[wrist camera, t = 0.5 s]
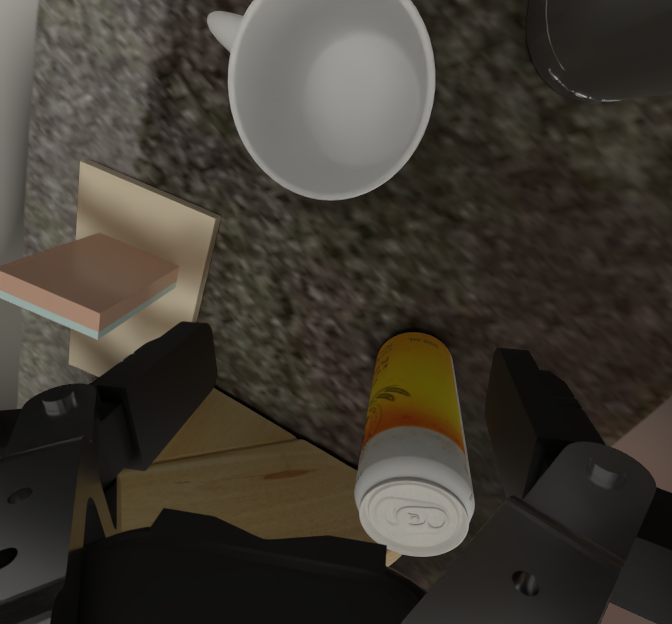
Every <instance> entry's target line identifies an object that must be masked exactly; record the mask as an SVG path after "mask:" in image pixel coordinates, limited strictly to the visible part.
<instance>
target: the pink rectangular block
mask: <svg viewBox="0 0 672 624" xmlns="http://www.w3.org/2000/svg"><path fill="white" fill-rule="evenodd" d="M178 272H179V266H177V265H175V264H172V263H170V262H168V261H165V260H163V259H161V258H158V257H156V256H154V255H151V254H149V253H147V252H144V251H142V250H140V249H137V248H135V247H133V246H130V245H128V244H126V243H123V242H121V241H119V240H116V239H114V238H112V237H109V236H107V235H105V234H102V233H100V232H99V233H96V234H93V235H90V236H87V237H85V238H82V239H79V240H76V241H73V242H70V243H67V244H64V245H61V246H58V247H55V248H52V249H49V250H46V251H43V252H40V253H37V254H34V255H31V256H28V257H25V258H22V259H19V260H16V261H13V262H10V263H7V264H4V265H1V266H0V298H1V299H3V300H6V301H8V302H10V303H13V304H15V305H18V306H20V307H22V308H24V309H27V310H29V311H32V312H34V313H36V314H39V315H41V316H43V317H46V318H48V319H50V320H53V321H55V322H57V323H60V324H62V325H64V326H67V327H69V328H71V329H74V330H76V331H78V332H81V333H83V334H85V335H88V336H90V337H92V338H95V339H97V340H98V339H100V338H101V337H103V336H104V335H106V334H107V333H109V332H110V331H112V330H113V329H115V328H116V327H118V326H119V325H121V324H122V323H124V322H125V321H126V320H128V319H129V318H131V317H132V316H134V315H135V314H137V313H138V312H140V311H141V310H143V309H144V308H146V307H147V306H149V305H150V304H152V303H153V302H155V301H156V300H158V299H159V298H161V297H162V296H164V295H165V294H167V293H168V292H170V291H171V290H173V289H174V288H175V287H176V282H177V277H178Z"/></svg>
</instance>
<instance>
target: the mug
mask: <svg viewBox="0 0 672 624" xmlns="http://www.w3.org/2000/svg"><path fill="white" fill-rule="evenodd" d="M207 23H208V26H209V29H210V31H211V32H212V33H213V35H214V36H215V37H216V38H217V40H218V41H219V42H220V43H221V44H222V45H223V46H224V47H225V48H226V49H227V50H228V51H229V52H230V60H229V66H228V91H229V100H230V106H231V112H232V115H233V118H234V122H235V125H236V128H237V130H238V133H239V135H240V138H241V140H242V142H243V143H244V145H245V147H246V149H247V151H248V152H249V154H250V155H251V156H252V158H253V159H254V161H255V162H256V163H257V164H258V165H259V167H260V168H261V169H262V170H263V171H264V172H265V173H266V174H267V175H268V176H270V177H271V178H272V179H273V180H274V181H276V182H277V183H279V184H280V185H281V186H283V187H285V188H287V189H288V190H290V191H292V192H294V193H297V194H300V195H302V196H305V197H309V198H314V199H319V200H343V199H348V198H353V197H357V196H359V195H362V194H365V193H368V192H370V191H372V190H374V189H376V188H377V187H379V186H381V185H382V184H383V183H385V182H386V181H388V180H389V179H390V178H391V177H393V176H394V175H395V174H396V173H397V172H398V171H399V170H400V169H401V168H402V167H403V166H404V165H405V163H406V162H407V161H408V160H409V159H410V157H411V156H412V154H413V153H414V151H415V150H416V148H417V146H418V144H419V143H420V141H421V139H422V137H423V135H424V132H425V130H426V127H427V124H428V122H429V118H430V114H431V110H432V106H433V101H434V93H435V64H434V55H433V50H432V46H431V42H430V38H429V35H428V32H427V29H426V27H425V24H424V22H423V20H422V18H421V16H420V14H419V12H418V10H417V8H416V7H415V5H414V4H413V3H412V1H411V0H253V2H252V3H251V4H250V6H249V7H248V9H247V11H246V12H245V14H244V16H241V15H238V14H234V13H229V12H224V11H214V12H212V13H210V14H209V15H208V18H207Z"/></svg>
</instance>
